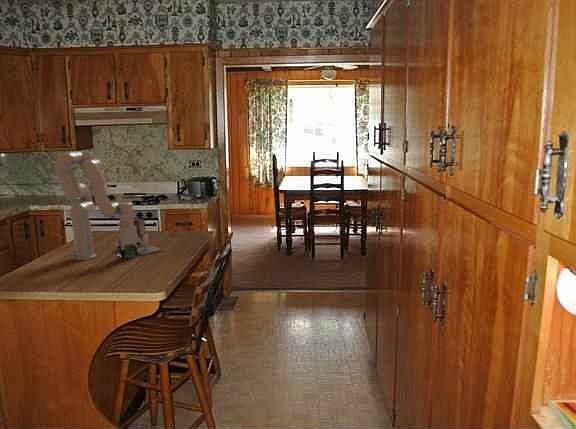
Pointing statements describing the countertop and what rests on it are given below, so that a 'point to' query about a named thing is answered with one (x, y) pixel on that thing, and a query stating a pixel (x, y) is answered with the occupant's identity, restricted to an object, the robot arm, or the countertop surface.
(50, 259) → the countertop surface
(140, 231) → the coffee box
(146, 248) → the post fixture
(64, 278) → the countertop surface
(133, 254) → the ring
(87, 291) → the countertop surface
